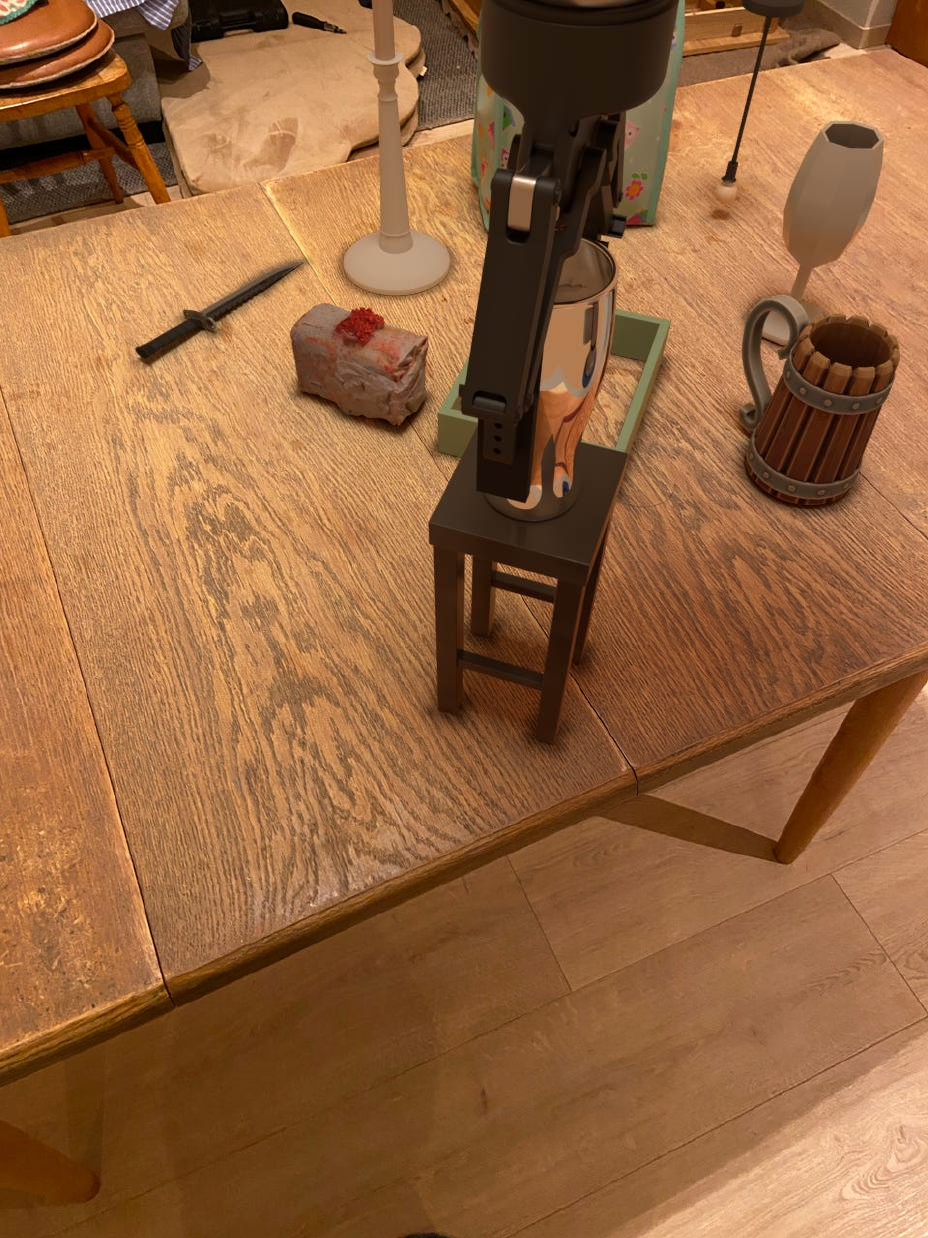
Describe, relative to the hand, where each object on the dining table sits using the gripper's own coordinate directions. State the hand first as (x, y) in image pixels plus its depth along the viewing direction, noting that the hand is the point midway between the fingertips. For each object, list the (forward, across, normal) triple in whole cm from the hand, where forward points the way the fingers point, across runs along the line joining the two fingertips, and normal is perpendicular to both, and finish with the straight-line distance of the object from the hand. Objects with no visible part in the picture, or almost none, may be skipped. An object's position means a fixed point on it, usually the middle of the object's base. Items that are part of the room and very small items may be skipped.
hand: (539, 411), depth 51 cm
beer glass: (+6, 0, 0) cm, 6 cm away
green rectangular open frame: (+28, -34, -6) cm, 44 cm away
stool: (+28, 0, 0) cm, 28 cm away
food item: (+28, -28, -25) cm, 47 cm away
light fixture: (+28, -76, +4) cm, 81 cm away
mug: (+28, -34, +17) cm, 47 cm away
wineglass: (+28, -56, +15) cm, 64 cm away
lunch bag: (+28, -72, -16) cm, 79 cm away
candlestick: (+28, -52, -31) cm, 67 cm away
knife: (+28, -37, -46) cm, 65 cm away
